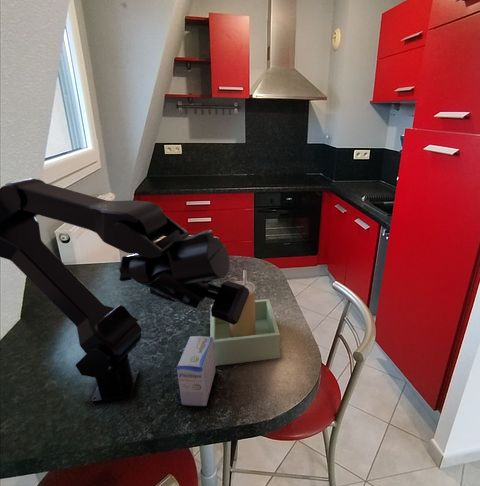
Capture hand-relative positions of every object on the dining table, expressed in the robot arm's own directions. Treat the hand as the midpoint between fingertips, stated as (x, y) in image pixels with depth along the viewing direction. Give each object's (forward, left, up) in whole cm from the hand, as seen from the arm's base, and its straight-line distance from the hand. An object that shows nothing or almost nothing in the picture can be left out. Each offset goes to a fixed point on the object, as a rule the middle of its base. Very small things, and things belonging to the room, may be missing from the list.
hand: (220, 304), depth 62 cm
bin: (+4, -4, -12) cm, 13 cm away
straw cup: (+5, -4, -11) cm, 13 cm away
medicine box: (-8, +5, -12) cm, 16 cm away
